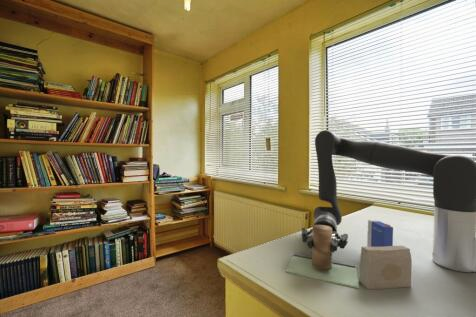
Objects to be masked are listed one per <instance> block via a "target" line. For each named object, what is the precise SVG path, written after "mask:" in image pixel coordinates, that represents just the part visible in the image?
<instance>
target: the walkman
mask: <svg viewBox="0 0 476 317" xmlns="http://www.w3.org/2000/svg"><path fill="white" fill-rule="evenodd" d="M366 239H367V240H366V241H367V242H366V247H385V246H394V245H393V244H394V242H393V241H394V227H393V226H391V224H389V223H384V222H382V221H380V220H377V219H367V238H366Z"/></svg>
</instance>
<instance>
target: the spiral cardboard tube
mask: <svg viewBox="0 0 476 317" xmlns="http://www.w3.org/2000/svg"><path fill="white" fill-rule="evenodd" d="M313 225H314V224H313ZM313 225H312V228H313V243H312V249H311V252H312V253H311V254H312V255H311V256H312V259H311V260H312V266H313V267H314V268H316V269H318V270H322V271H328V270H331V268H332V264H333V263H332V260H333V259H332V258H333V252H331V248H332V228H331V227H329V226H326V225H314V226H313Z"/></svg>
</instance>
